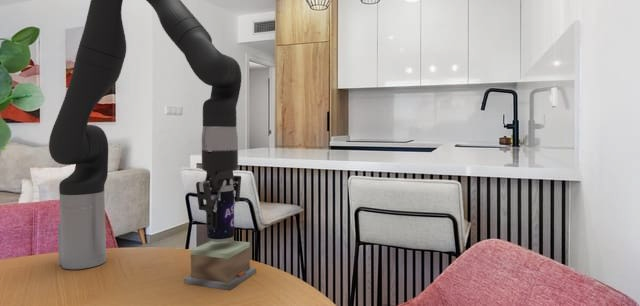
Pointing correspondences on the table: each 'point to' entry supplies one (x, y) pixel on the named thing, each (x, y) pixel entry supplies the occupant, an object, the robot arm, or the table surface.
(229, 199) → the beverage can
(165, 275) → the table surface
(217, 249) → the block
